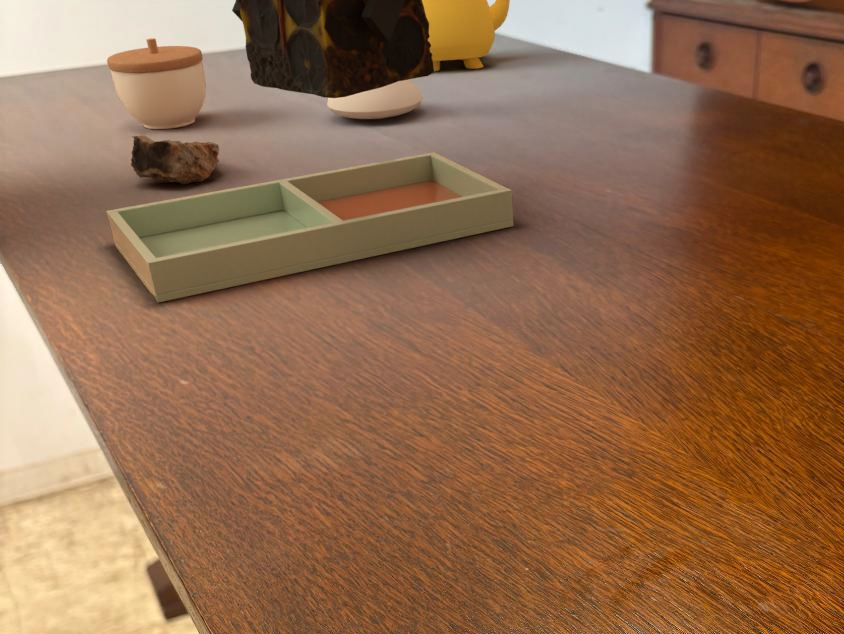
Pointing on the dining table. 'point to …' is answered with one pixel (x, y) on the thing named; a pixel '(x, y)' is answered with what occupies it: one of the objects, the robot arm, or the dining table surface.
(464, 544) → the dining table surface
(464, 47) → the teapot
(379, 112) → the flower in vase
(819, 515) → the dining table surface
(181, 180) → the rock
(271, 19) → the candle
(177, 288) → the tray
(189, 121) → the trinket box
